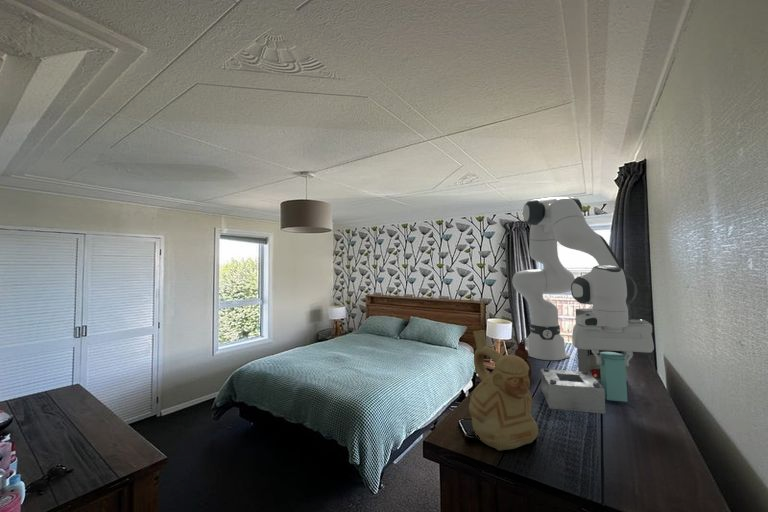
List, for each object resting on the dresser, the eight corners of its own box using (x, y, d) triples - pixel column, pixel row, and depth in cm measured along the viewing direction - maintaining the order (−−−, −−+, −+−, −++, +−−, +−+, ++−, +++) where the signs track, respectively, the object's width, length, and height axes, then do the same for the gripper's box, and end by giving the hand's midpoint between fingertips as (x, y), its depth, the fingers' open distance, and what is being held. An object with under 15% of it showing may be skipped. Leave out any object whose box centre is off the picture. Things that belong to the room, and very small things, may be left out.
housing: (541, 389, 105) (540, 366, 106) (589, 393, 101) (588, 370, 101) (549, 408, 92) (548, 382, 92) (605, 414, 88) (604, 386, 88)
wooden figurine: (533, 383, 111) (531, 340, 111) (516, 383, 112) (514, 340, 112) (528, 377, 117) (527, 336, 118) (512, 376, 118) (510, 336, 119)
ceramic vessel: (496, 467, 67) (492, 348, 67) (451, 423, 85) (448, 330, 86) (561, 451, 71) (556, 340, 72) (505, 413, 90) (501, 325, 91)
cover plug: (598, 392, 99) (597, 351, 99) (621, 394, 97) (619, 352, 97) (605, 400, 93) (603, 356, 93) (630, 402, 91) (627, 358, 91)
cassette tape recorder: (588, 383, 110) (585, 311, 110) (578, 377, 116) (574, 308, 117) (628, 382, 110) (624, 309, 111) (615, 375, 116) (612, 307, 117)
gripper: (646, 317, 95) (648, 364, 95) (569, 316, 102) (571, 359, 101) (657, 321, 89) (659, 371, 89) (575, 319, 96) (577, 365, 95)
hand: (612, 365), depth 95 cm, fingers closed on cover plug, 5 cm apart
